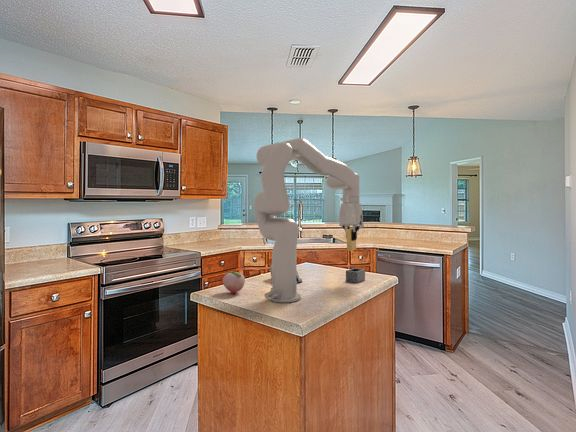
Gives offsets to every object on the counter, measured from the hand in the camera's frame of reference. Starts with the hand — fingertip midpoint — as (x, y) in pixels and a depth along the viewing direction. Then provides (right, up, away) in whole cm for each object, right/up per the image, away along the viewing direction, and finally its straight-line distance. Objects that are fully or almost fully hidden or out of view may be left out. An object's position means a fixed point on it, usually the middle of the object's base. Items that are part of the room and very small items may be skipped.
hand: (351, 239), depth 156 cm
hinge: (-31, -20, +5) cm, 37 cm away
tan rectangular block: (0, -5, 0) cm, 5 cm away
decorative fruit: (-51, -21, -16) cm, 58 cm away
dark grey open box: (+3, -20, +5) cm, 20 cm away
